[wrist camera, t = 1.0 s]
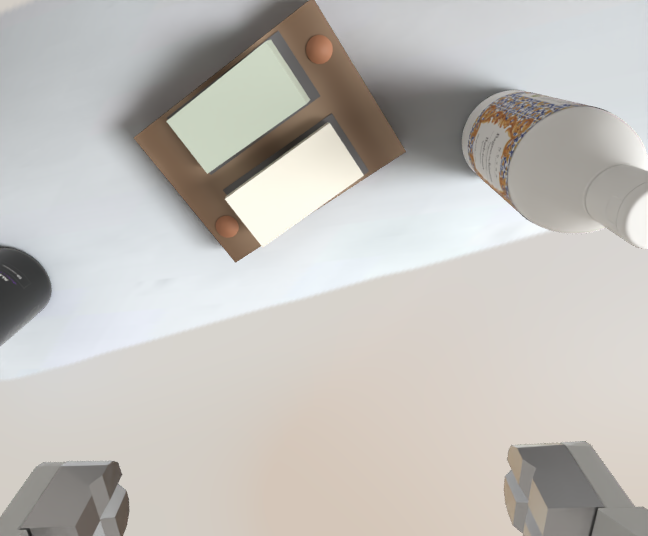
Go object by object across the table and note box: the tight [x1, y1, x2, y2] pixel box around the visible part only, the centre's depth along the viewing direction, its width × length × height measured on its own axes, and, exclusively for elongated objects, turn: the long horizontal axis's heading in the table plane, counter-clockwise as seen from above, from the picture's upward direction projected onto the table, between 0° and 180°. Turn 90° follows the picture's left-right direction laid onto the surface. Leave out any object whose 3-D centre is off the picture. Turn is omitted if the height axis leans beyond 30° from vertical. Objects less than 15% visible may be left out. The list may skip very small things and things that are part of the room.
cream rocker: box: [225, 122, 364, 247], centre depth 35 cm, size 9×4×1 cm, turn 124°
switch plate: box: [134, 0, 406, 263], centre depth 37 cm, size 16×12×4 cm
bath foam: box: [462, 90, 648, 250], centre depth 29 cm, size 7×7×20 cm
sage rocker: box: [166, 40, 310, 174], centre depth 33 cm, size 9×4×1 cm, turn 124°
